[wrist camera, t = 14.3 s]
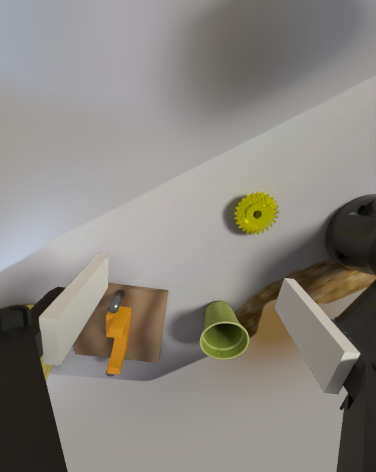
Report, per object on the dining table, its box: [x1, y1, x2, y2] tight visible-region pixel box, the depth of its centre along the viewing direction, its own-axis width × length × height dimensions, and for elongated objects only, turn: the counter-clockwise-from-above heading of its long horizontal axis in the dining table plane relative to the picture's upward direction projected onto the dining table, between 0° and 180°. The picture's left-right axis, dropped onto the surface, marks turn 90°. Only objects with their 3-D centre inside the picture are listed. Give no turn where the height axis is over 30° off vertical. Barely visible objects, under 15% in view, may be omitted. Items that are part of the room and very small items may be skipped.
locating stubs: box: [106, 290, 125, 376], centre depth 47 cm, size 2×19×5 cm, turn 172°
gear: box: [235, 192, 279, 235], centre depth 40 cm, size 8×4×8 cm
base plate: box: [75, 283, 168, 363], centre depth 50 cm, size 20×20×1 cm
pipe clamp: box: [106, 306, 131, 375], centre depth 46 cm, size 12×4×6 cm, turn 170°
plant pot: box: [200, 301, 249, 360], centre depth 45 cm, size 9×9×9 cm
